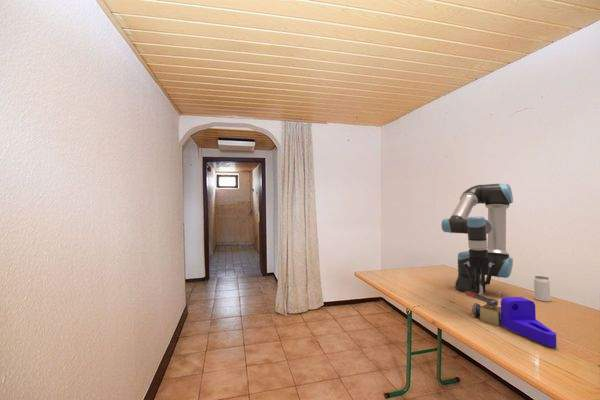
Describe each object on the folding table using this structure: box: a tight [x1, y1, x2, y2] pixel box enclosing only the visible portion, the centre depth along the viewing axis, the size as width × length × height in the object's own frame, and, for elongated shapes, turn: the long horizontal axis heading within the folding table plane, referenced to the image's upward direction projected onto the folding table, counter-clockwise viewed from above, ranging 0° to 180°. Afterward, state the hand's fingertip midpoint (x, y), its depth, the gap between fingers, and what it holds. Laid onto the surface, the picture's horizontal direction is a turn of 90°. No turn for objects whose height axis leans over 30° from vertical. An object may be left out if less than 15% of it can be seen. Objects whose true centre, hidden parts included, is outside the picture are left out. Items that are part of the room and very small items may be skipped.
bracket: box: [500, 296, 557, 348], centre depth 106 cm, size 18×11×12 cm, turn 1°
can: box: [533, 275, 551, 303], centre depth 146 cm, size 6×6×12 cm
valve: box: [471, 302, 502, 327], centre depth 120 cm, size 14×7×7 cm, turn 34°
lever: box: [465, 291, 499, 307], centre depth 125 cm, size 15×4×2 cm, turn 13°
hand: (481, 298), depth 128 cm, fingers closed
